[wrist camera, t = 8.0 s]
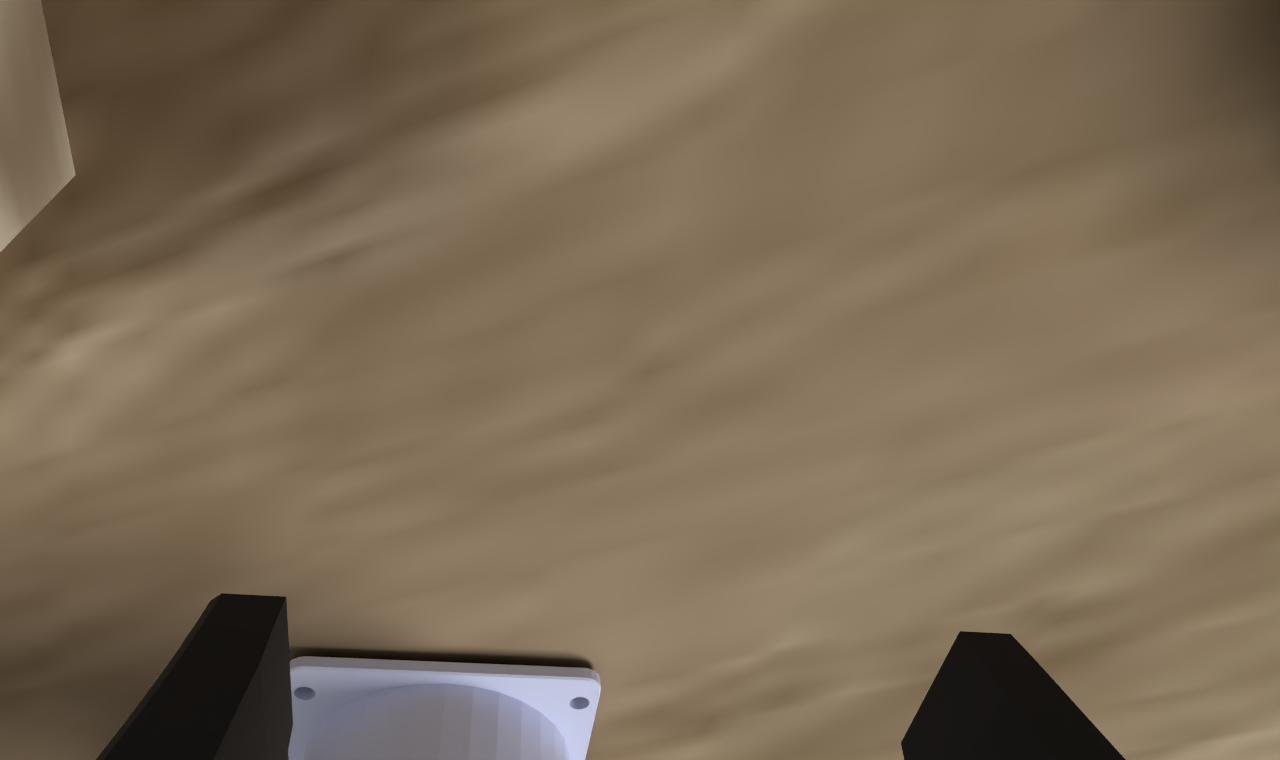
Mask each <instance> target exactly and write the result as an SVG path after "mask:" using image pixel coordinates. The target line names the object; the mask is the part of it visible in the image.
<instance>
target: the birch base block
mask: <svg viewBox="0 0 1280 760" xmlns="http://www.w3.org/2000/svg"><path fill="white" fill-rule="evenodd" d="M74 176H75V170H74V165H73V160H72V155H71V150H70V144H69V139H68V134H67V129H66V124H65V119H64V114H63V109H62V104H61V99H60V94H59V89H58V84H57V79H56V74H55V69H54V64H53V58H52V53H51V48H50V43H49V38H48V33H47V28H46V23H45V18H44V13H43V8H42V3H41V0H0V252H1V251H2V250H3V249H4V248H5V247H6V246H7V245H8V244H9V243H10V242H11V241H12V240H13V239H14V238H15V237H16V235H17V234H18V233H19V232H20V231H21V230H22V229H23V228H24V227H25V226H26V225H27V224H28V223H29V222H30V221H31V220H32V219H33V218H34V217H35V216H36V215H37V214H38V213H39V212H40V211H41V210H42V209H43V208H44V207H45V206H46V205H47V204H48V203H49V202H50V201H51V200H52V199H53V198H54V197H55V196H56V195H57V194H58V193H59V191H60V190H61V189H62V188H63V187H64V186H65V185H66V184H67V183H68V182H69V181H70V180H71V179H72V178H73V177H74Z"/></svg>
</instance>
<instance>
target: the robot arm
mask: <svg viewBox="0 0 1280 760" xmlns="http://www.w3.org/2000/svg"><path fill="white" fill-rule="evenodd" d="M600 692H601V685H600V676H599V675H598V673H597V672H595V671H593V670H592V669H588V668H578V667H554V666H530V665H506V664H482V663H458V662H434V661H410V660H386V659H362V658H338V657H314V656H303V657H298V658H295V659H292V660H291V661H290V659H289V641H288V623H287V605H286V597H279V596H259V595H240V594H220V595H219V596H217V597H216V598H214V599H213V600H211V601H210V603H209V604H208V606H207V607H206V609H205V610H204V612H203V614H202V615H201V617H200V618H199V620H198V621H197V623H196V624H195V626H194V627H193V629H192V630H191V632H190V633H189V635H188V636H187V638H186V639H185V641H184V642H183V644H182V645H181V647H180V648H179V650H178V651H177V652H176V654H175V655H174V657H173V658H172V660H171V661H170V662H169V664H168V665H167V667H166V668H165V669H164V671H163V672H162V674H161V675H160V676H159V678H158V679H157V681H156V682H155V683H154V685H153V686H152V687H151V689H150V690H149V691H148V693H147V694H146V695H145V697H144V698H143V699H142V701H141V702H140V703H139V705H138V706H137V708H136V709H135V710H134V712H133V713H132V714H131V716H130V717H129V718H128V720H127V721H126V722H125V724H124V725H123V726H122V727H121V729H120V730H119V731H118V732H117V734H116V735H115V736H114V737H113V739H112V740H111V741H110V742H109V744H108V745H107V746H106V748H105V749H104V750H103V751H102V753H101V754H100V755H99V756H98V758H97V759H96V760H286V759H287V753H288V757H289V760H585V758H586V753H587V749H588V745H589V740H590V736H591V731H592V727H593V723H594V718H595V714H596V710H597V705H598V701H599V696H600ZM901 745H902V750H903V755H904V760H1125V759H1124V758H1123V756H1122V755H1121V754H1120V753H1119V752H1118V751H1117V750H1116V749H1115V748H1114V747H1113V745H1112V744H1111V743H1110V742H1109V741H1108V740H1107V739H1106V738H1105V737H1104V736H1103V734H1102V733H1101V732H1100V731H1099V730H1098V729H1097V728H1096V727H1095V726H1094V725H1093V723H1092V722H1091V721H1090V720H1089V719H1088V718H1087V717H1086V716H1085V715H1084V713H1083V712H1082V711H1081V710H1080V709H1079V708H1078V707H1077V706H1076V705H1075V703H1074V702H1073V701H1072V700H1071V699H1070V698H1069V697H1068V696H1067V695H1066V693H1065V692H1064V691H1063V690H1062V689H1061V688H1060V687H1059V686H1058V685H1057V684H1056V682H1055V681H1054V680H1053V679H1052V678H1051V677H1050V676H1049V675H1048V674H1047V673H1046V671H1045V670H1044V669H1043V668H1042V667H1041V666H1040V665H1039V664H1038V663H1037V662H1036V661H1035V659H1034V658H1033V657H1032V656H1031V655H1030V654H1029V653H1028V652H1027V651H1026V650H1025V649H1024V648H1023V647H1022V646H1021V645H1020V643H1019V642H1018V641H1017V640H1016V639H1015V638H1014V637H1013V636H1012V635H1011V634H1000V633H981V632H961V631H960V632H959V634H958V636H957V638H956V640H955V642H954V644H953V646H952V647H951V649H950V651H949V653H948V655H947V657H946V659H945V661H944V663H943V664H942V666H941V668H940V670H939V672H938V674H937V676H936V678H935V680H934V681H933V683H932V685H931V687H930V689H929V691H928V693H927V695H926V697H925V699H924V700H923V702H922V704H921V706H920V708H919V710H918V712H917V714H916V716H915V717H914V719H913V721H912V723H911V725H910V727H909V729H908V731H907V733H906V734H905V736H904V738H903V740H902V742H901Z"/></svg>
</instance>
